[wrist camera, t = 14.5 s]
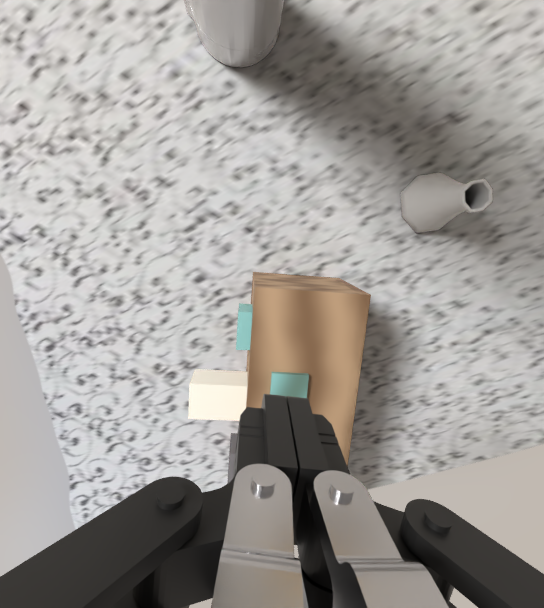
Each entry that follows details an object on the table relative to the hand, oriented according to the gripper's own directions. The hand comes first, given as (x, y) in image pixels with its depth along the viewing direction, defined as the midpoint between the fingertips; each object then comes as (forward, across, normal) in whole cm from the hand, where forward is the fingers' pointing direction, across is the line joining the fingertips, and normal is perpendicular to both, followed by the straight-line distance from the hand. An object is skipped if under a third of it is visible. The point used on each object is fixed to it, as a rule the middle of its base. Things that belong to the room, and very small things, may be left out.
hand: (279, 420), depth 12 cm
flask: (+35, -20, -11) cm, 41 cm away
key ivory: (+27, +1, +13) cm, 30 cm away
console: (+33, -5, +13) cm, 36 cm away
